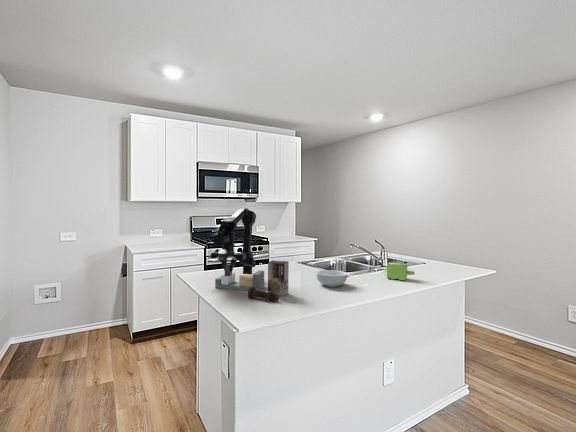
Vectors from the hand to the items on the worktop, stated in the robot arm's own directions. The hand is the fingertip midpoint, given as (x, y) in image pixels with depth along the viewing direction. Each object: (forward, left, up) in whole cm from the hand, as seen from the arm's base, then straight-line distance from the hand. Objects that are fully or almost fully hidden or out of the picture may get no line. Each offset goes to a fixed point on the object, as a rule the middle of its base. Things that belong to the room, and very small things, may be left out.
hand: (228, 271), depth 176 cm
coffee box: (+6, +30, -8) cm, 31 cm away
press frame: (0, +7, -8) cm, 10 cm away
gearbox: (-47, +92, -8) cm, 103 cm away
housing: (0, +12, -6) cm, 13 cm away
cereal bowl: (-19, +54, -8) cm, 58 cm away
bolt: (+18, +26, -8) cm, 32 cm away
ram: (0, 0, -6) cm, 6 cm away
